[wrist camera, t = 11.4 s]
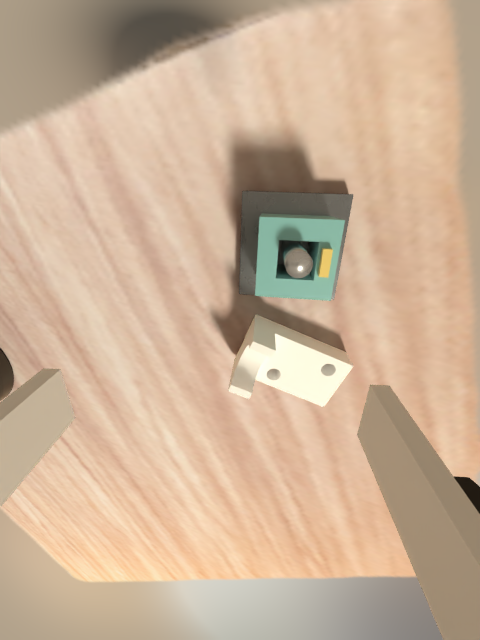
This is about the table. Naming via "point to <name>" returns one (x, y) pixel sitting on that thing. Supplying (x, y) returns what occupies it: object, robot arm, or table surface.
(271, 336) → the bracket
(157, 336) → the table surface
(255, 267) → the shaft base
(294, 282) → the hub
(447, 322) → the table surface
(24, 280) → the table surface
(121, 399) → the table surface
